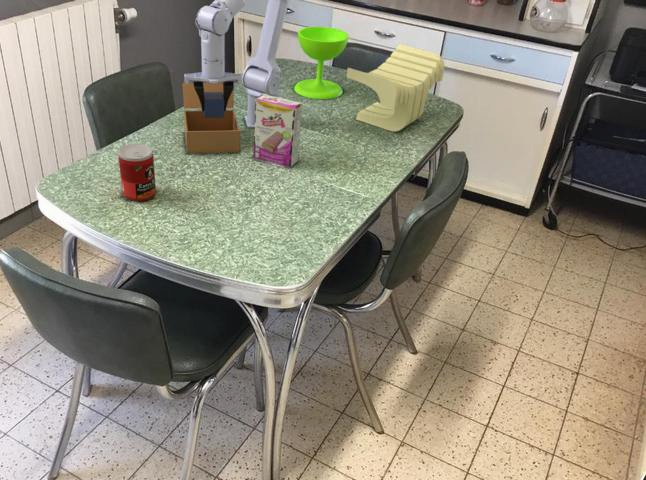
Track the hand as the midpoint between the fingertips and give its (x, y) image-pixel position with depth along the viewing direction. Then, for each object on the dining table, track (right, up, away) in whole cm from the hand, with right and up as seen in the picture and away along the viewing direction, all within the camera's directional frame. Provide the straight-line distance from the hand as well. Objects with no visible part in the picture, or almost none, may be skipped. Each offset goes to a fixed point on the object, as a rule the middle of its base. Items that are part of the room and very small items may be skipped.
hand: (213, 109), depth 168 cm
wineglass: (+30, +17, +42) cm, 55 cm away
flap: (-2, +6, +7) cm, 10 cm away
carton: (-1, -7, +7) cm, 10 cm away
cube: (0, -1, +1) cm, 1 cm away
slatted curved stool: (+50, +3, +25) cm, 57 cm away
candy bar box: (+16, -13, 0) cm, 21 cm away
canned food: (-16, -24, -17) cm, 34 cm away
